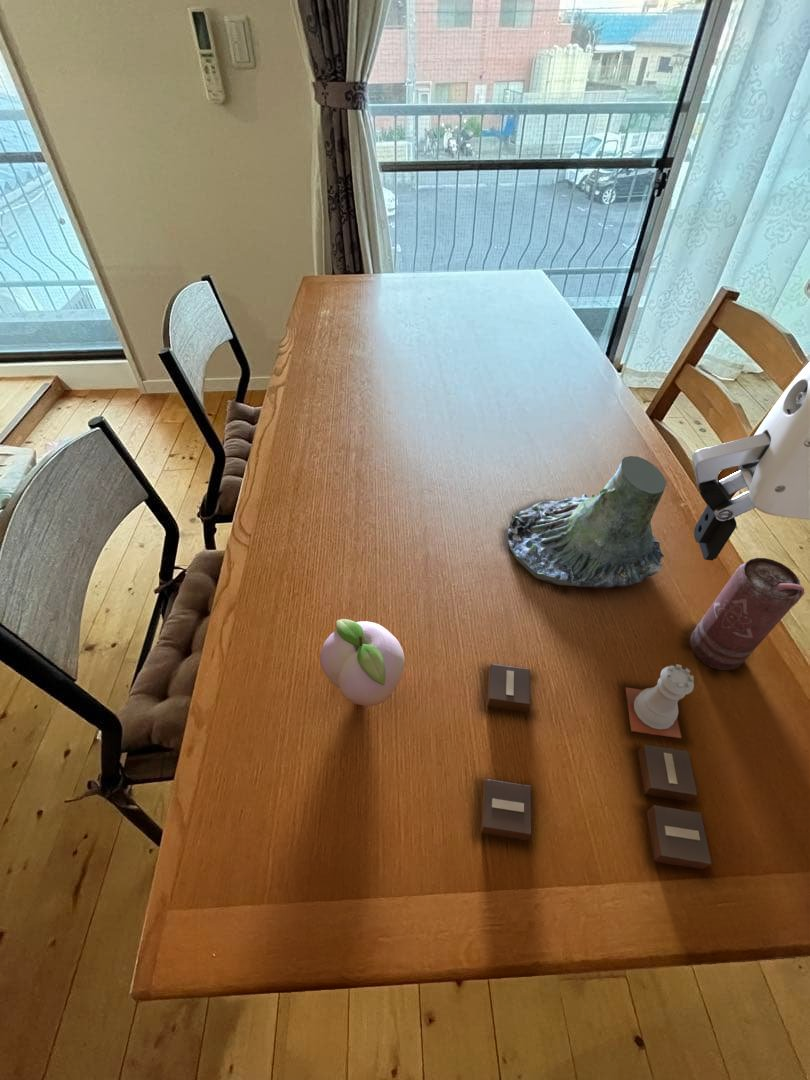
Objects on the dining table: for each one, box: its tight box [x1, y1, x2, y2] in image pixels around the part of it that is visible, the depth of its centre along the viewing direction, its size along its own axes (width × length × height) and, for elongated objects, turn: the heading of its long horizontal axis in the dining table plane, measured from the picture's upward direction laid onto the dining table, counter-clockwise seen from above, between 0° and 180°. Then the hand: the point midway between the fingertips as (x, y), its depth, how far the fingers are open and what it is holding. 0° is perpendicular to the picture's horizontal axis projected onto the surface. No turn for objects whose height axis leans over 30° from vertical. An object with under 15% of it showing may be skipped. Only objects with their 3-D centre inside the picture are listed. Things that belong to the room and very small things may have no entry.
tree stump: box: [507, 455, 667, 589], centre depth 74 cm, size 18×20×18 cm
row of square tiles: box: [624, 687, 712, 870], centre depth 56 cm, size 18×5×2 cm, turn 172°
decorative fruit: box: [319, 618, 406, 707], centre depth 60 cm, size 9×8×10 cm
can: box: [689, 557, 805, 671], centre depth 62 cm, size 6×6×14 cm
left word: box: [480, 663, 532, 841], centre depth 58 cm, size 17×4×2 cm, turn 172°
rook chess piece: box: [634, 663, 695, 729], centre depth 58 cm, size 4×4×8 cm
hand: (769, 554), depth 42 cm, fingers open, 9 cm apart
